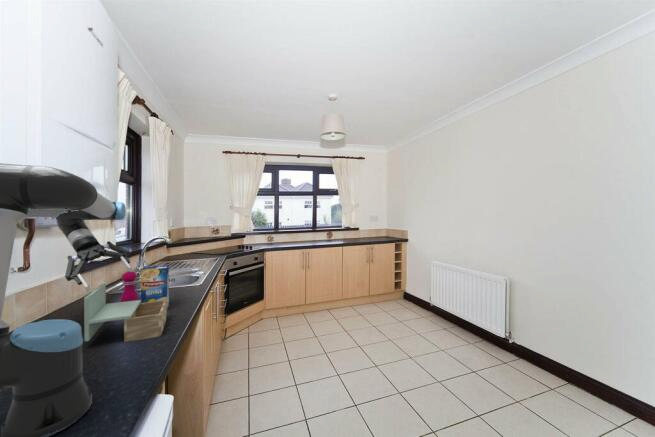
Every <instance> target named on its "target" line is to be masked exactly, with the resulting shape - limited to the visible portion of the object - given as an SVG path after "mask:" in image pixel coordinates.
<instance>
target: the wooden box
mask: <svg viewBox="0 0 655 437" xmlns="http://www.w3.org/2000/svg"><path fill="white" fill-rule="evenodd" d="M166 321H167V311H166V300H163V301H154V302H146V303H140V305H139V306H138V308H137V309H136V311H135V312H134V314H133V316H132V317H131V318H128V319H123V333H124V334H123V340H124V342H123V343H130V342H135V341H141V340H146V339H153V338H159V337H162V335H163V332H164V329H165V325H166Z"/></svg>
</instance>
